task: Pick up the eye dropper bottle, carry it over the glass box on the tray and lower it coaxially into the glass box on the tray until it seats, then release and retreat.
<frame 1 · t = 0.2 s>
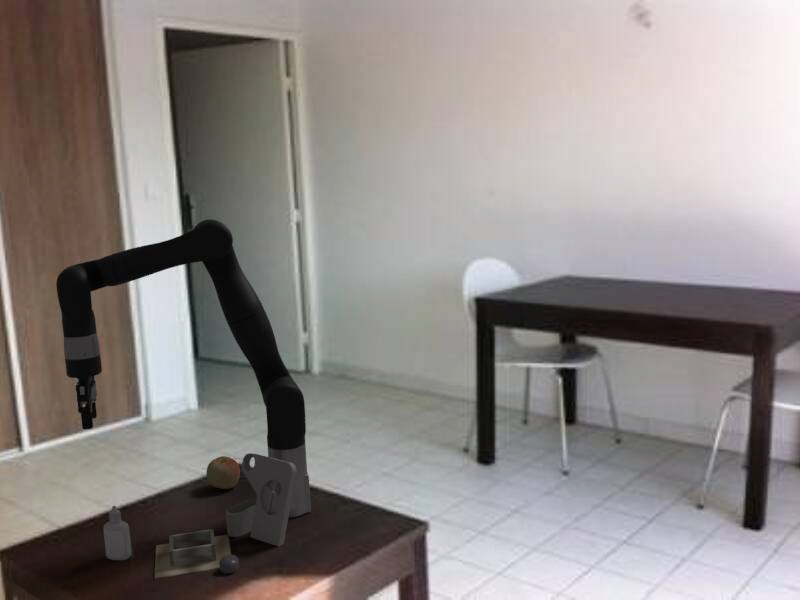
hand: (90, 423, 191), 28 cm above the table, fingers open, 8 cm apart
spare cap: (229, 568, 176), point 1 cm above the table, tilted 21°, touching glass box on tray
phone holder: (264, 538, 193), on the table
apple: (224, 488, 225), on the table
eye dropper bottle: (119, 558, 186), on the table
glass box on tray: (193, 559, 183), on the table
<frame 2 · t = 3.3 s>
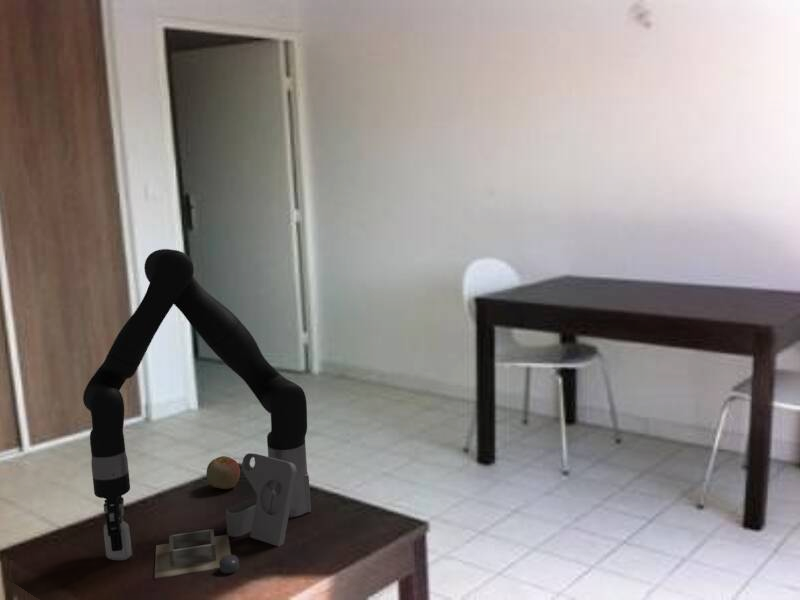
hand: (118, 545, 185), 3 cm above the table, fingers closed on eye dropper bottle, 4 cm apart
eye dropper bottle: (119, 557, 186), on the table, touching gripper
everything else where it was.
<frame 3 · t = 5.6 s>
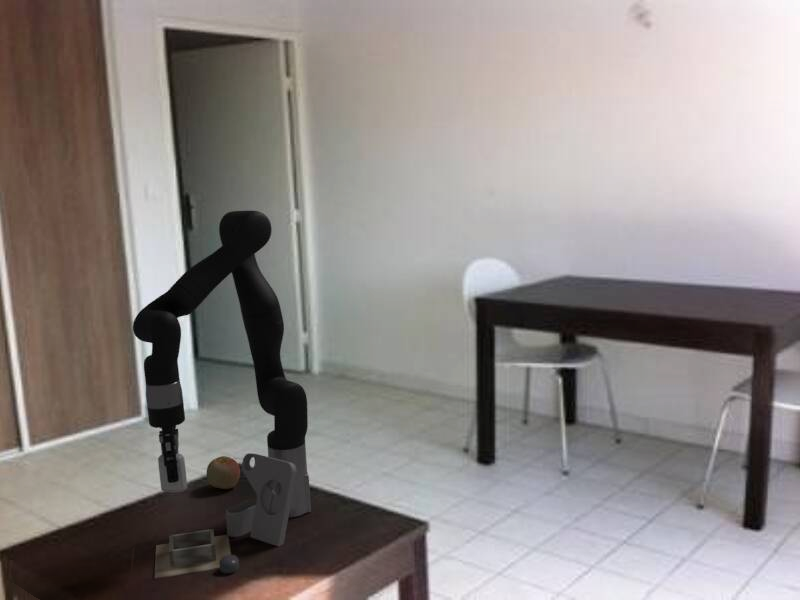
hand: (173, 477, 181), 19 cm above the table, fingers closed on eye dropper bottle, 4 cm apart
eye dropper bottle: (174, 490, 182), point 16 cm above the table, touching gripper
everything else where it was.
when the fingers open (5 cm above the table, at t = 8.4 s): eye dropper bottle drops 1 cm, resting on glass box on tray.
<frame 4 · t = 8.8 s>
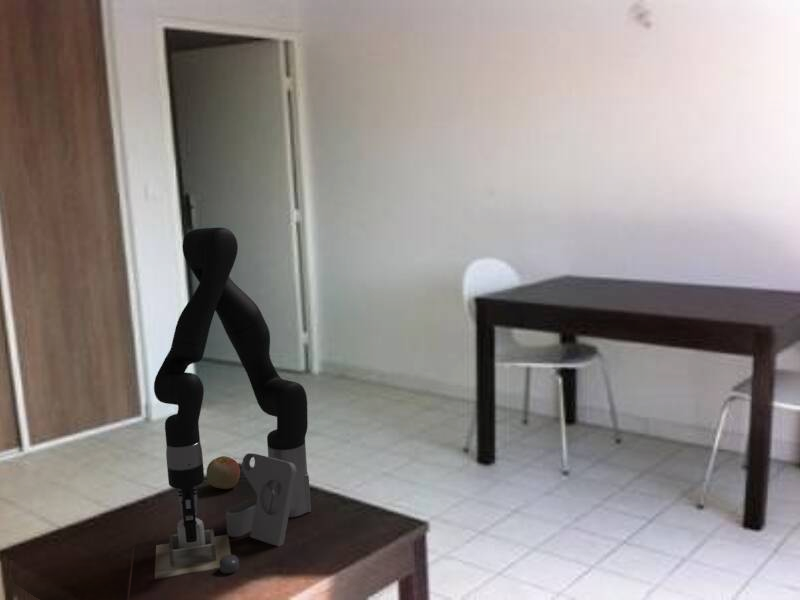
hand: (191, 533, 182), 6 cm above the table, fingers open, 7 cm apart
eye dropper bottle: (193, 555, 183), point 1 cm above the table, touching glass box on tray
everything else where it was.
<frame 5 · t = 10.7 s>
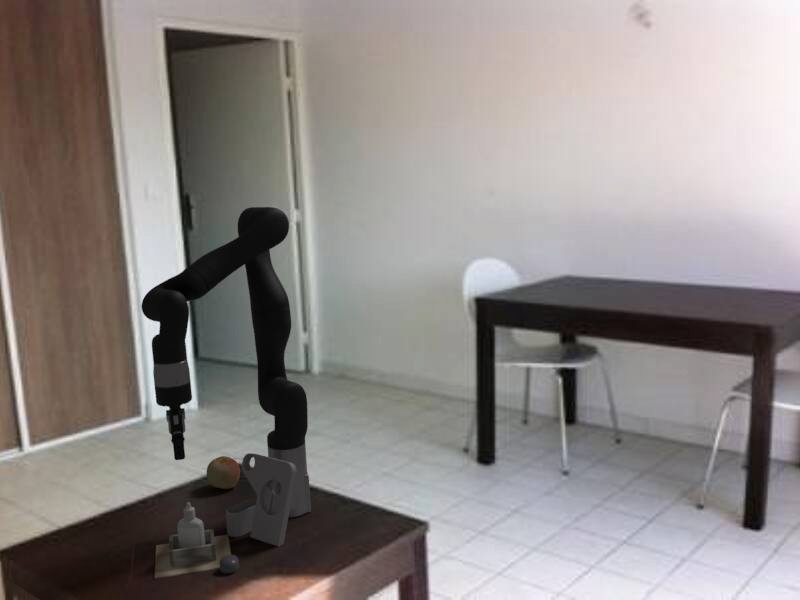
hand: (179, 452, 182), 23 cm above the table, fingers open, 8 cm apart
nothing on the table moved.
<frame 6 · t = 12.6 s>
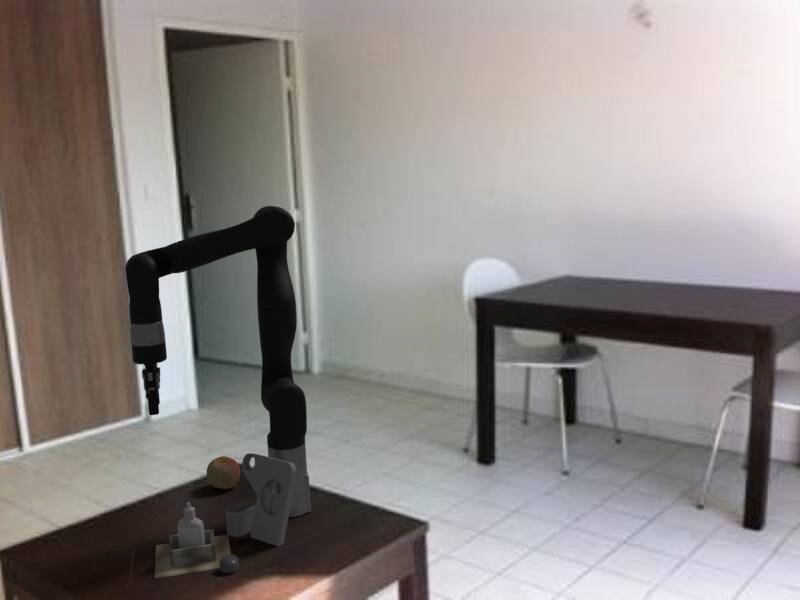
hand: (154, 409, 193), 30 cm above the table, fingers open, 8 cm apart
nothing on the table moved.
at the end: eye dropper bottle 0.2 cm off-centre on the glass box on tray, point 0.8 cm above the glass box on tray's base; eye dropper bottle tilted 0°; the gripper is holding nothing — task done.
